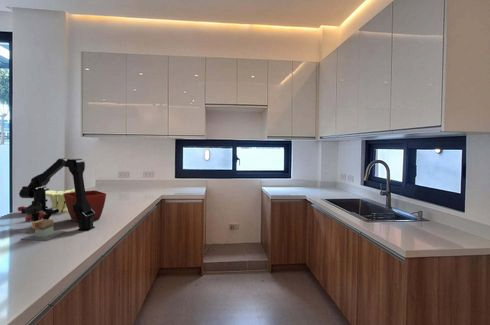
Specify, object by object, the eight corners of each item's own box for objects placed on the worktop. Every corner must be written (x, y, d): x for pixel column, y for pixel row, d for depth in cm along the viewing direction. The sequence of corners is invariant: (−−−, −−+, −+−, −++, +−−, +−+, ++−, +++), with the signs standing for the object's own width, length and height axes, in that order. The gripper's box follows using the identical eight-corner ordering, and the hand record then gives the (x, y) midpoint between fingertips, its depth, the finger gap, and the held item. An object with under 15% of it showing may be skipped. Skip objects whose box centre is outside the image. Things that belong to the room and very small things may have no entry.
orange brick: (49, 225, 174) (49, 219, 173) (39, 229, 167) (38, 222, 167) (42, 225, 174) (42, 219, 174) (32, 228, 168) (31, 222, 167)
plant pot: (107, 219, 189) (106, 193, 188) (74, 225, 175) (73, 197, 174) (95, 214, 202) (94, 190, 201) (63, 219, 188) (63, 193, 187)
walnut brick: (53, 226, 158) (53, 219, 157) (43, 230, 151) (43, 223, 151) (45, 225, 158) (45, 219, 158) (34, 229, 151) (34, 222, 151)
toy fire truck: (45, 219, 189) (45, 204, 188) (19, 223, 178) (18, 207, 178) (44, 218, 191) (43, 203, 190) (17, 222, 180) (17, 206, 180)
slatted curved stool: (84, 206, 226) (84, 183, 225) (82, 211, 211) (81, 186, 210) (37, 210, 214) (37, 185, 213) (32, 214, 199) (31, 188, 198)
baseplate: (66, 232, 161) (66, 224, 161) (47, 240, 147) (47, 232, 147) (41, 231, 162) (41, 223, 162) (20, 239, 148) (20, 231, 148)
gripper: (12, 200, 162) (13, 228, 163) (44, 201, 161) (45, 229, 162) (28, 197, 173) (29, 223, 174) (59, 197, 172) (59, 224, 173)
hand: (40, 225), depth 171 cm, fingers closed on orange brick, 5 cm apart
